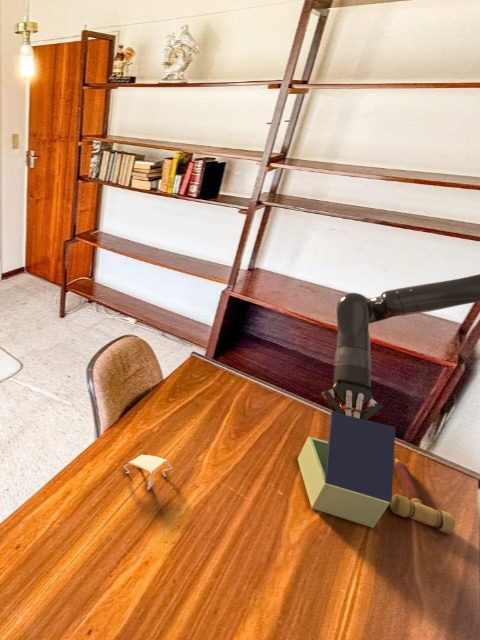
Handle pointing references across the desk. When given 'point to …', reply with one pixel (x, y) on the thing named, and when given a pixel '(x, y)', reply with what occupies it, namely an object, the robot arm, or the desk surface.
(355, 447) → the lid
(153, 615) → the desk surface
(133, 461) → the miniature stool
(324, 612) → the desk surface
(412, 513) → the gavel
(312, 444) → the box
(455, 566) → the desk surface
